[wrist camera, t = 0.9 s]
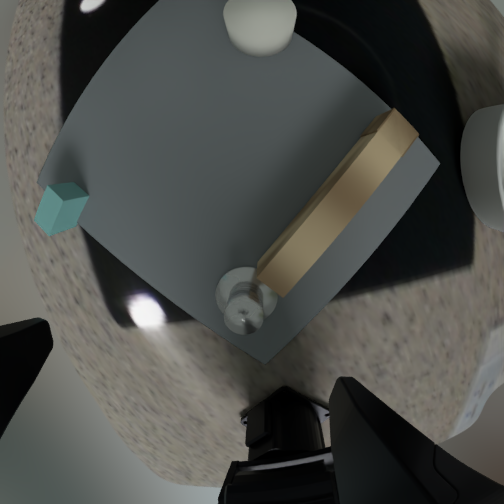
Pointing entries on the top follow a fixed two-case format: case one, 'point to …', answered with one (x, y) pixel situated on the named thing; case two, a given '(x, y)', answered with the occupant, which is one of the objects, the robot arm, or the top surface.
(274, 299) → the hinge pin
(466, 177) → the saucepan
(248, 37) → the door stop
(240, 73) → the mat
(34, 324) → the robot arm
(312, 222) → the wooden block
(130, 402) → the top surface
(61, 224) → the teal rectangular block
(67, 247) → the top surface
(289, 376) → the top surface
